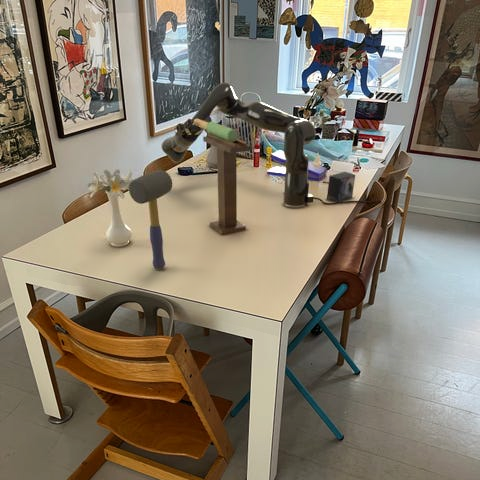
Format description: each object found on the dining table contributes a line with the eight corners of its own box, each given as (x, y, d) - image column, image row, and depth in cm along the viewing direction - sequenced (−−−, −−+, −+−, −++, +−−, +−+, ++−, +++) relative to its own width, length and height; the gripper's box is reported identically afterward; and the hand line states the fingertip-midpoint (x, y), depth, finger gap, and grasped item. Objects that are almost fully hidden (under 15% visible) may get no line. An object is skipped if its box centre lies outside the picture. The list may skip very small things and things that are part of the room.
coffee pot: (202, 167, 251) (201, 137, 242) (211, 162, 260) (210, 133, 251) (240, 171, 244) (240, 141, 236) (248, 166, 253) (248, 136, 245)
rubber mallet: (156, 279, 146) (145, 181, 129) (137, 273, 149) (124, 177, 133) (180, 263, 155) (173, 170, 138) (162, 258, 158) (153, 166, 142)
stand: (204, 222, 186) (200, 134, 168) (226, 217, 190) (225, 131, 172) (228, 239, 171) (227, 145, 153) (252, 234, 175) (254, 142, 158)
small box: (337, 203, 204) (340, 178, 198) (325, 199, 208) (328, 175, 202) (353, 198, 209) (356, 174, 204) (341, 194, 213) (344, 170, 208)
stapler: (275, 168, 249) (276, 149, 244) (327, 175, 238) (329, 155, 233) (266, 174, 240) (267, 154, 235) (319, 181, 230) (321, 160, 224)
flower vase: (148, 235, 175) (140, 165, 161) (123, 255, 160) (112, 180, 146) (116, 230, 178) (106, 162, 164) (89, 250, 163) (75, 177, 150)
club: (192, 128, 179) (191, 116, 177) (201, 127, 181) (201, 115, 179) (227, 142, 159) (227, 130, 157) (238, 141, 161) (238, 129, 158)
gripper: (166, 128, 188) (179, 111, 173) (199, 125, 193) (215, 108, 179) (171, 147, 188) (185, 132, 174) (204, 143, 194) (220, 128, 179)
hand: (200, 120), depth 176 cm, fingers open, 7 cm apart
